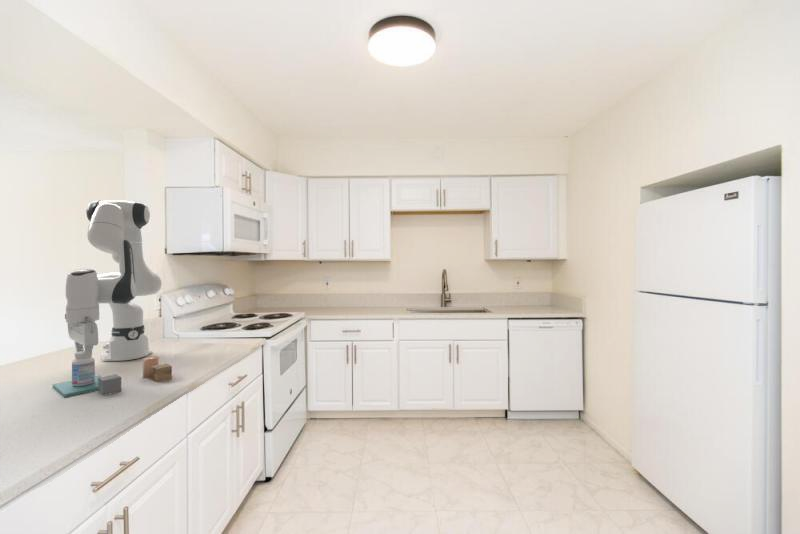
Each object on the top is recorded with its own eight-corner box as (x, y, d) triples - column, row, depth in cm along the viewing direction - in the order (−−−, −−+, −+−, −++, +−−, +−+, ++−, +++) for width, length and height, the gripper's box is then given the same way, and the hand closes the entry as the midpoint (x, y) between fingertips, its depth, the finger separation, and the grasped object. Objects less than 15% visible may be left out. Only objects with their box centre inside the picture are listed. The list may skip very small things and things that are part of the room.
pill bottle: (70, 384, 128) (70, 352, 128) (93, 380, 132) (93, 349, 132) (72, 388, 124) (72, 355, 124) (96, 383, 128) (96, 351, 128)
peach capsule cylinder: (140, 376, 140) (140, 358, 140) (155, 373, 144) (155, 355, 144) (146, 379, 137) (145, 360, 137) (161, 375, 141) (160, 357, 141)
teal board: (52, 387, 128) (52, 384, 128) (99, 377, 138) (99, 375, 138) (64, 397, 118) (64, 394, 118) (113, 386, 128) (113, 383, 128)
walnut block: (151, 379, 136) (151, 366, 136) (165, 376, 140) (165, 363, 140) (156, 382, 133) (156, 368, 133) (171, 378, 138) (171, 365, 137)
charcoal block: (98, 392, 123) (98, 377, 123) (116, 388, 127) (116, 374, 127) (102, 395, 120) (102, 380, 120) (121, 391, 124) (121, 376, 124)
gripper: (103, 317, 124) (104, 358, 125) (86, 311, 136) (86, 348, 137) (79, 320, 119) (80, 362, 120) (63, 314, 131) (64, 352, 132)
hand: (83, 355), depth 128 cm, fingers open, 8 cm apart
